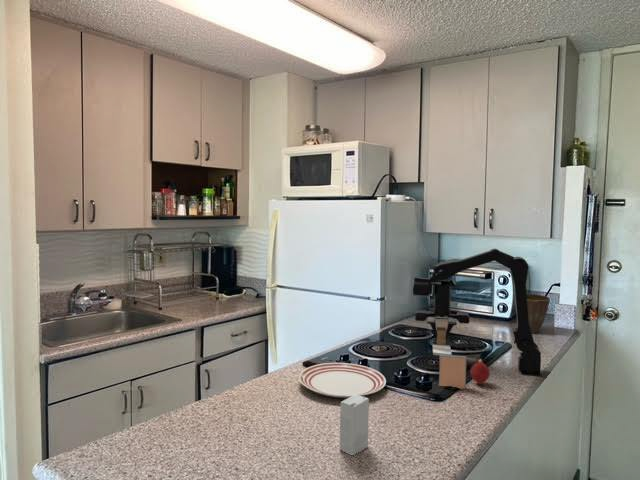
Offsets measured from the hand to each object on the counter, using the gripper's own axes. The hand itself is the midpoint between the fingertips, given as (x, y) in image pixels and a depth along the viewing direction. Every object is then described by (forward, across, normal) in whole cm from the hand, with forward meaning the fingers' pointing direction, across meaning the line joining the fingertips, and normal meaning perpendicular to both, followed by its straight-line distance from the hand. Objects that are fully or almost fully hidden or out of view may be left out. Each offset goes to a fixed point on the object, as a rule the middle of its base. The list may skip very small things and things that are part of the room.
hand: (441, 339), depth 174 cm
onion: (+9, -12, +19) cm, 24 cm away
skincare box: (+8, +22, +69) cm, 73 cm away
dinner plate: (+9, +31, +31) cm, 45 cm away
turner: (+2, 0, +5) cm, 5 cm away
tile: (+8, -3, +24) cm, 25 cm away
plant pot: (+9, -42, -54) cm, 68 cm away
